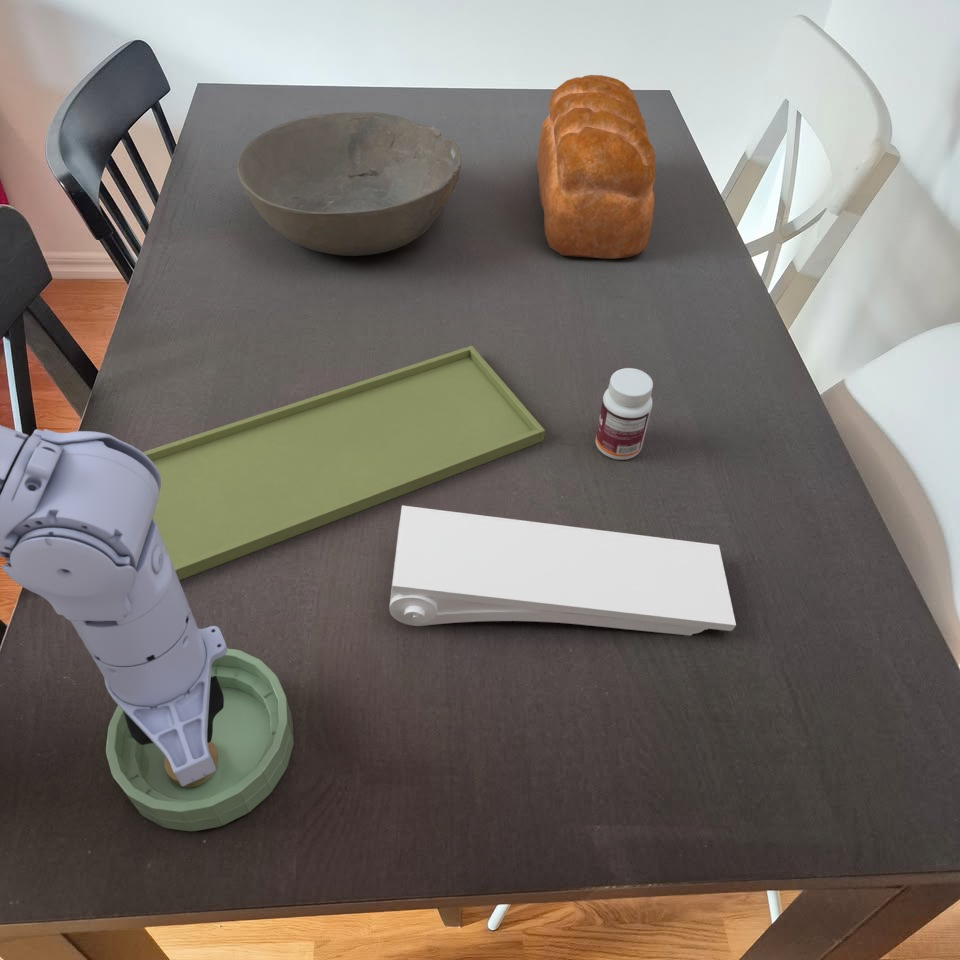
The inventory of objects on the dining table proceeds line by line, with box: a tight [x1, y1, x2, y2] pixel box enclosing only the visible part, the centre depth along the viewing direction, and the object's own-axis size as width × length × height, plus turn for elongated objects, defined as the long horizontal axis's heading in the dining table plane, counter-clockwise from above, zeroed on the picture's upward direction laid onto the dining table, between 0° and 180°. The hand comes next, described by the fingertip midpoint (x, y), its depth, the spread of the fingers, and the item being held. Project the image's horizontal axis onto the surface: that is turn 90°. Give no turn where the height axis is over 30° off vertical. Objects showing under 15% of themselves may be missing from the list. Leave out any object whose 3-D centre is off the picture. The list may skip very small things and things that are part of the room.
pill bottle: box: [595, 367, 654, 461], centre depth 81 cm, size 5×5×8 cm
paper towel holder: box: [164, 741, 218, 788], centre depth 57 cm, size 4×4×9 cm
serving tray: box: [141, 345, 546, 581], centre depth 81 cm, size 39×15×2 cm, turn 119°
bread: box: [536, 74, 656, 260], centre depth 110 cm, size 14×26×16 cm, turn 0°
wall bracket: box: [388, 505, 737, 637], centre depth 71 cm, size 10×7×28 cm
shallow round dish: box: [105, 648, 295, 832], centre depth 60 cm, size 12×12×4 cm
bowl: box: [236, 111, 462, 257], centre depth 107 cm, size 28×28×10 cm
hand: (191, 731), depth 57 cm, fingers closed on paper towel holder
